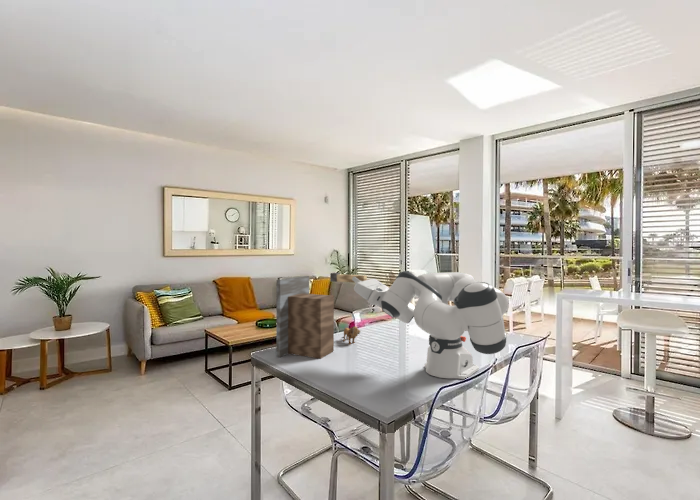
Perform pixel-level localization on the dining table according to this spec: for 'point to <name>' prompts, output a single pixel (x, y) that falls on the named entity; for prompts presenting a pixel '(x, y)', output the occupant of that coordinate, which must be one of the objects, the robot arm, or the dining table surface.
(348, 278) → the light wooden bar
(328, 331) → the brown tall block
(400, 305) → the robot arm
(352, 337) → the lion figurine
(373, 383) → the dining table surface
